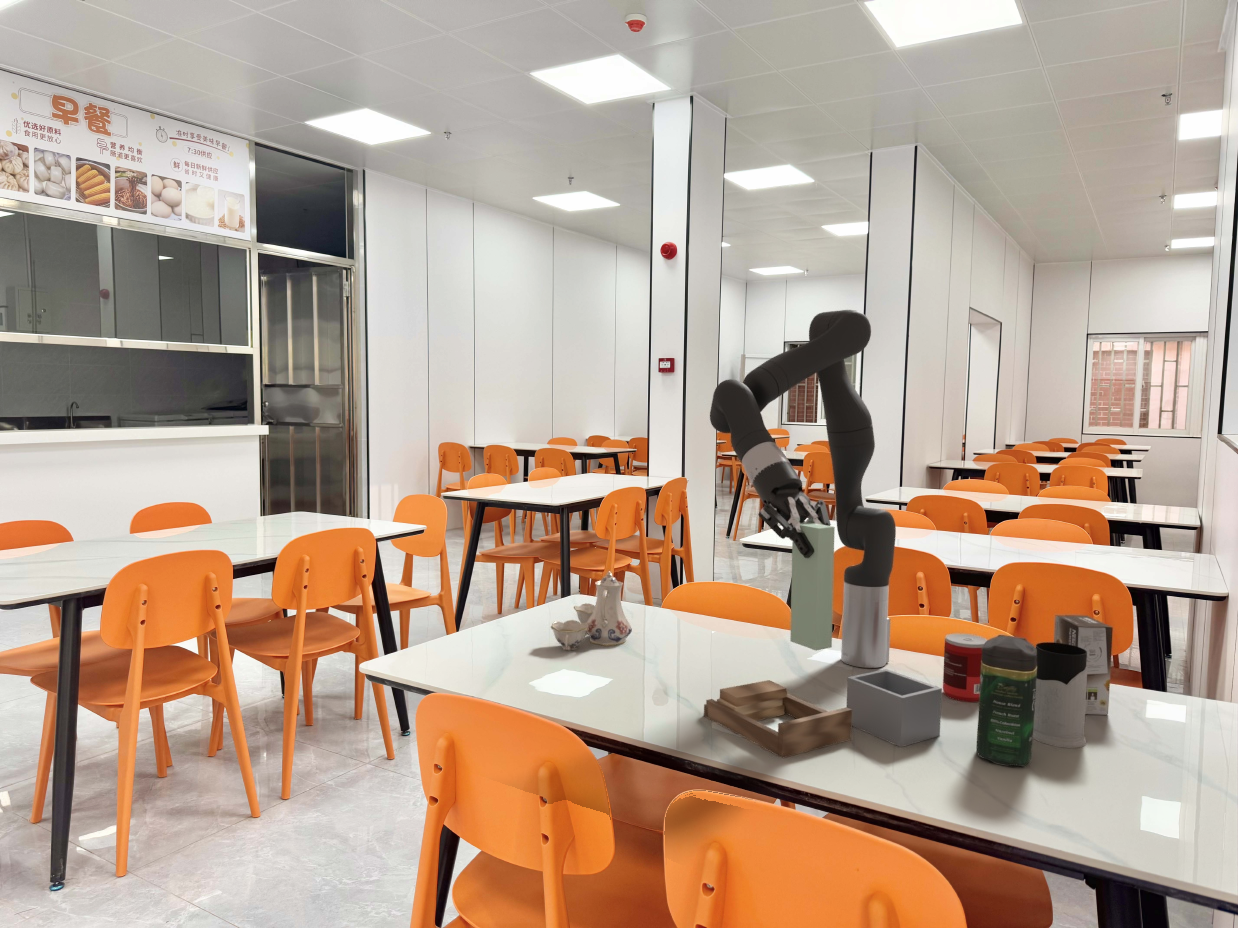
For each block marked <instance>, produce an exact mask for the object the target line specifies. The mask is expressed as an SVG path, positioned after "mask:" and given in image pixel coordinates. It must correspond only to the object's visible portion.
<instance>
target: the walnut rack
mask: <svg viewBox="0 0 1238 928" xmlns="http://www.w3.org/2000/svg"><path fill="white" fill-rule="evenodd" d="M782 705H784V714H787V715H789V716H791V717H794V719H792V720H788V721H787V720H786V721H785V722H780V723H778V724H777V725H778V726H777V730H776V729H773V728H771V727H769V726H767V725H765V724H764V723H762V722H759V721H755V720H753V719H751V718H749V717H747V716H745V715H743V714H741V713H739V712H737V711H735V710H733V709H731V708H729V707H727V706H725V705H723V704H721V703H719V702H717V700H715V699H713V698H710V699H709V698H708V699H706V700H705V704H703V717H705V718H707V719H709V720H710V721H713V722H714V723H717V724H718V725H721V726H722V727H724V728H726V729H728V731H729V730H730V731H731V732H733V733H736V734H737V735H739V736H741V737H743V738H745V739H746V740H748V741H750V742H752V743H754V744H756V745H757V746H759V747H761V748H763V749H765V750H766V751H769V752H771V753H773V754H775V755H776V756H778V757H780V758H782V759H784V758H787V757H791V756H795V755H798V754H802V753H807V752H810V751H814V750H817V749H821V748H825V747H828V746H832V745H835V744H840V743H843V742H846V741H851V739H852V725H851V722H852V709H849V708H847V706H846V707H843V708H839V709H833V710H830V711H827V710H826V709H823V708H821V707H819V706H816V705H815V704H813V703H809V702H808V701H805V700H803V699H801V698H797V697H796V696H794V695H791V694H789V693H787V697H784V698H783V702H782ZM795 718H796V719H795Z"/></svg>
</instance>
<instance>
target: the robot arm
mask: <svg viewBox="0 0 1238 928" xmlns="http://www.w3.org/2000/svg"><path fill="white" fill-rule="evenodd" d="M870 323H871V322H870V320H869V319H868V317H867V316H866V315H865V314H864V313H863V312H861V311H859V310H854V309H841V310H833V311H823V312H820V313H817V314H816V315H815V316H813V318H812V320H811V322H810V324H809V329H808V339H809V340H808V341H809V342H806V343H804V344H802V345H799V346H797V347H795V348H794V347H793V348H791V349H789V350H786V351H784V352H782V353H779V354H777V355H775V356H772V357H771V358H769V359H768V360H766V361H764V362H763V363H761V364H760V365H758V366H757V367H756V368H754V369H752V370H751V371H749V372H748V373H747V374H746V375H745V377H744V379H743V381H742V382H741V381H740V380H737V379H732V378H731V379H730V378H728V379H725V380H723V381H721V382H720V383H718V385H717V386H716V387H715V388H714V389H715V390H714V391H713V395H712V401H711V404H710V405H711V406H710V412H709V420H710V424H711V426H712V427H713V429H714V430H716V431H717V432H720V433H722V434H730V444H731V447H732V449H733V451H734V453H735V455H736V457H737V458H738V460H739V462H740V463H741V465H742V467H743V469H744V472H745V474H746V476H747V478H748V480H749V481H750V483H751V484H752V487H753V489H754V490H755V491H756V493H757V495H758V496H759V498H760V500H761V502H762V504H763V505H764V506H763V507H762V508H761V509H760V511H759V512H758V517H759V518H760V519H761V520H762V521H763V522H764V523H765V524H766V525H767V526H768V527H769V528H770V529H772V531H773V532H774V533H775V534H776V535H777V536H778V537H779V538H781V539H783V540H784V539H785V538H788V539H789V540H790V541H791V542H792V541H794V543H795V545H796V546H797V548H798V550H799V552H800V553H801V554H802V555H803V556H804V557H805V558H809V557H810V556H811V555H812V554H813V553H814V548H813V547H812V545H811V543H810V542H809V540H808V538H807V537H806V535H805V533H801V532H802V528H801V526H800V523H804V522H809V523H816V524H822V525H827V526H832V524H831V520H830V518H829V517H830V516H829V512H828V509H827V506H826V502H825V501H824V500H823V499H818V501H813V500H811V499H810V497H809V496H808V495H807V494H805V492H804V491H803V482H802V480H801V478H800V477H799V475H798V473H797V472H796V470H795V468H794V467H793V466H792V464H791V462H790V461H789V459H788V458H787V456H786V455H785V453H784V452H783V450H782V449H781V448H780V447H779V446H778V444H777V443H776V441H775V440H774V438H773V437H772V435H771V433H770V432H769V430H768V429H767V427H766V425H765V422H764V418H763V415H762V413H761V412H762V411H764V409H765V408H766V407H767V406H768V405H769V404H770V403H771V402H773V401H775V400H776V399H777V398H780V397H781V396H782V395H783V394H785V393H787V392H788V391H789V390H791V389H792V388H794V387H795V386H797V385H799V384H800V383H802V382H803V381H805V380H806V379H809V378H810V377H812V376H813V375H814V374H815V375H816V374H817V379H818V383H819V387H820V388H819V389H820V395H821V400H822V404H823V410H824V416H825V425H826V433H827V441H828V447H829V452H830V457H831V464H832V465H831V466H832V472H833V481H834V482H833V483H834V493H835V496H834V497H835V513H836V514H835V515H836V516H835V518H836V528H837V535H838V537H839V540H840V542H841V543H842V545H844V546H845V548H846V547H847V548H849V549H852V550H858V551H862V552H863V558H862V561H861V562H860V563H858V564H855V565H850V566H848V567H846V568H845V570H844V574H843V600H842V601H843V602H842V603H843V604H842V625H841V626H842V627H841V630H842V631H841V648H840V649H841V655H840V657H841V658H840V660H841V662H843V663H844V664H847V665H849V666H852V667H853V666H854V667H858V668H866V669H867V668H868V669H875V668H881V667H884V666H886V664H888V663H889V662H890V645H891V644H890V642H891V641H890V640H891V618H889V617H888V616H889V590H890V577H891V574H892V572H893V569H894V568H893V567H894V566H893V565H894V557H895V546H896V538H897V537H896V534H897V531H896V530H897V529H896V522H895V518H894V516H893V514H892V513H890V512H889V511H888V510H885V509H881V508H872V507H866V506H865V505H864V503H863V496H862V482H863V479H864V475H865V473H866V471H867V468H868V467H869V465H870V463H871V460H872V458H873V456H874V452H875V448H876V445H875V444H876V443H875V442H876V441H875V434H874V427H873V420H872V415H871V412H870V411H869V409H868V407H867V405H866V404H865V402H864V400H863V399H862V397H861V396H860V394H859V393H858V391H857V390H856V388H855V387H854V385H853V384H852V382H851V379H850V377H849V375H848V371H847V368H846V362H845V360H846V359H848V358H850V357H852V356H855V355H857V354H859V353H861V352H862V351H863V350H865V348H866V347H867V345H868V344H869V342H870V340H871V336H872V327H871V324H870ZM864 506H865V507H864ZM778 524H779V525H780V526H782V528H781V527H780V526H779V525H778ZM793 527H794V528H793Z"/></svg>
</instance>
